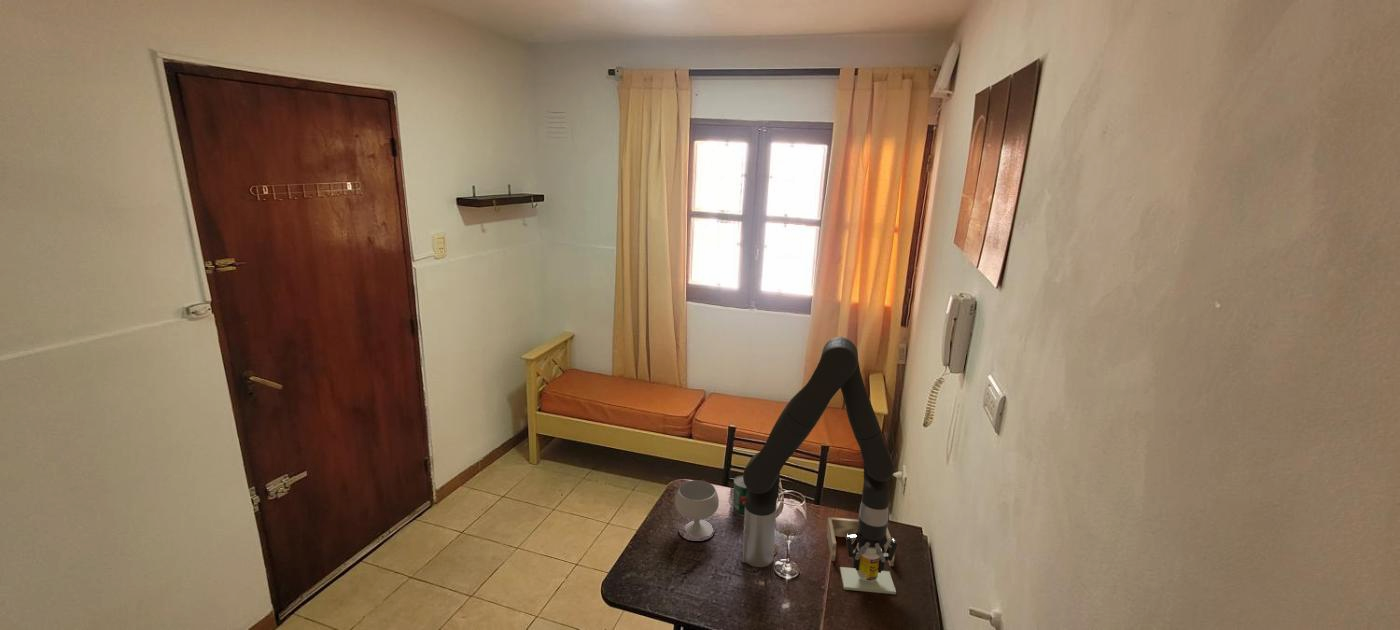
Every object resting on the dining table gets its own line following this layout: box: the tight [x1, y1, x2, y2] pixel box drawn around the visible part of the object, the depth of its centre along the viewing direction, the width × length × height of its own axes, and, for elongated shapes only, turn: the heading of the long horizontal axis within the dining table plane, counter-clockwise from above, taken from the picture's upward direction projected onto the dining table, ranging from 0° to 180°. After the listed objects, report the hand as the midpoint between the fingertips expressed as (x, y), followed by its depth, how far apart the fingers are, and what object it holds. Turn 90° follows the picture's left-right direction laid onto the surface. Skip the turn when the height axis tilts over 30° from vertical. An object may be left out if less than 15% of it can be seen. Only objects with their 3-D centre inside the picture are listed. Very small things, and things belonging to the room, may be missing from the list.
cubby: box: [826, 516, 896, 567], centre depth 162 cm, size 18×13×6 cm
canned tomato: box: [732, 475, 747, 517], centre depth 181 cm, size 8×8×11 cm
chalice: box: [674, 479, 720, 537], centre depth 169 cm, size 14×14×15 cm
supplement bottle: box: [857, 547, 880, 582], centre depth 148 cm, size 6×6×10 cm
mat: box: [839, 566, 897, 595], centre depth 149 cm, size 14×8×1 cm, turn 83°
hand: (867, 569), depth 148 cm, fingers closed on supplement bottle, 5 cm apart
